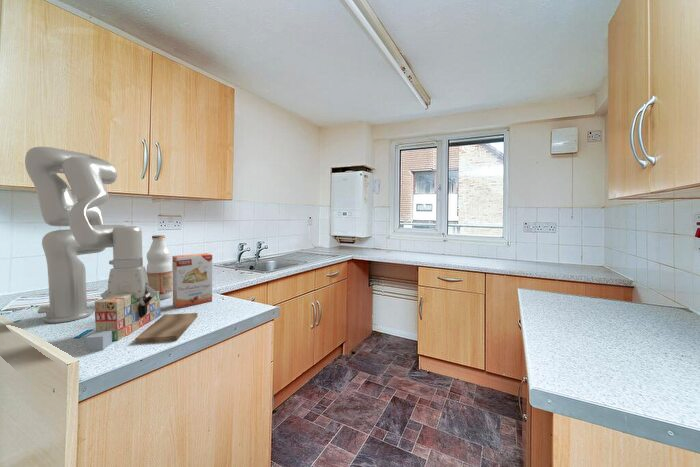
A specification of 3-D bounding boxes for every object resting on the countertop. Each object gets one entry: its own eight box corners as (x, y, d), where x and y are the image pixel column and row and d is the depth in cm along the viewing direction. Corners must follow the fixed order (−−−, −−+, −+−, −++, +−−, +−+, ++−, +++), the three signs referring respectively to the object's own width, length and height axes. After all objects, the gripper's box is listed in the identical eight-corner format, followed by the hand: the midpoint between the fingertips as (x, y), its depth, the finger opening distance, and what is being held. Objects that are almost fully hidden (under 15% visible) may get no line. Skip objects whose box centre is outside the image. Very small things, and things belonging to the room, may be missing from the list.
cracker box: (177, 308, 113) (176, 257, 111) (172, 305, 117) (171, 255, 115) (213, 301, 123) (212, 254, 122) (207, 298, 127) (207, 252, 126)
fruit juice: (146, 301, 121) (144, 236, 119) (148, 296, 129) (146, 235, 127) (172, 298, 126) (170, 236, 124) (172, 293, 134) (171, 234, 132)
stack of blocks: (143, 315, 105) (142, 283, 104) (161, 315, 105) (160, 283, 105) (95, 341, 84) (94, 300, 83) (117, 341, 84) (116, 300, 83)
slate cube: (86, 351, 78) (85, 337, 78) (95, 345, 82) (95, 331, 81) (103, 350, 79) (102, 336, 78) (111, 344, 83) (111, 330, 82)
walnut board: (135, 343, 83) (135, 338, 83) (164, 318, 102) (164, 314, 102) (176, 340, 85) (176, 335, 85) (197, 316, 105) (197, 312, 105)
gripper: (89, 266, 87) (92, 322, 88) (152, 265, 91) (154, 319, 92) (105, 262, 94) (107, 314, 96) (163, 261, 98) (164, 311, 99)
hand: (130, 316), depth 94 cm, fingers closed on stack of blocks, 6 cm apart
